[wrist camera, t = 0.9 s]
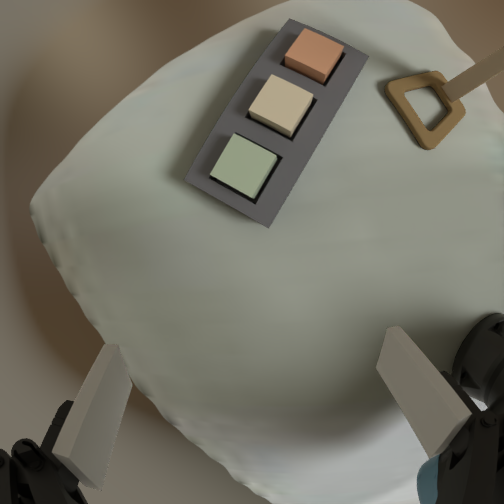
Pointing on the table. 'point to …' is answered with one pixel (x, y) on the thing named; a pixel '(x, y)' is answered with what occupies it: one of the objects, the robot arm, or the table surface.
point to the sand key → (280, 105)
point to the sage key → (244, 165)
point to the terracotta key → (313, 56)
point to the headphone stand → (442, 96)
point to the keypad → (286, 149)
